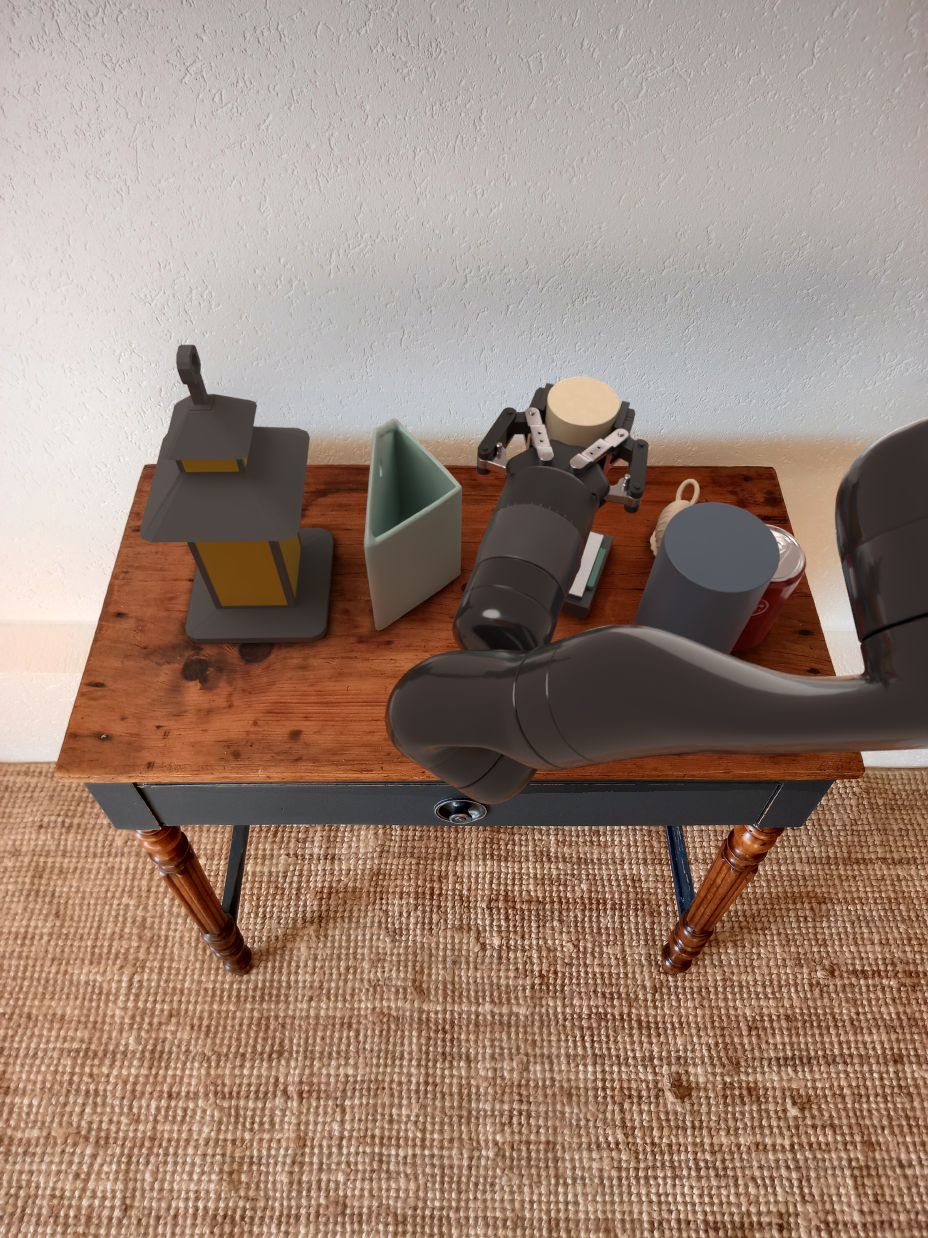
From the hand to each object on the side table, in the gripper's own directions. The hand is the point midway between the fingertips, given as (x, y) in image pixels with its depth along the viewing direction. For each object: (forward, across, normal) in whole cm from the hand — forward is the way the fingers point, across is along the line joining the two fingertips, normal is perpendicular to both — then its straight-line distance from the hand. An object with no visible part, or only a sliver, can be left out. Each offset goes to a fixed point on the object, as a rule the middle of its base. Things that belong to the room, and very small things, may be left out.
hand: (586, 400), depth 69 cm
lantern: (-14, +28, +22) cm, 39 cm away
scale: (-2, 0, +22) cm, 22 cm away
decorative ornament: (+6, -12, +22) cm, 25 cm away
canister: (-2, 0, +7) cm, 7 cm away
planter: (-7, +13, +22) cm, 26 cm away
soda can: (-3, -19, +22) cm, 29 cm away
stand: (-11, -14, +22) cm, 28 cm away
